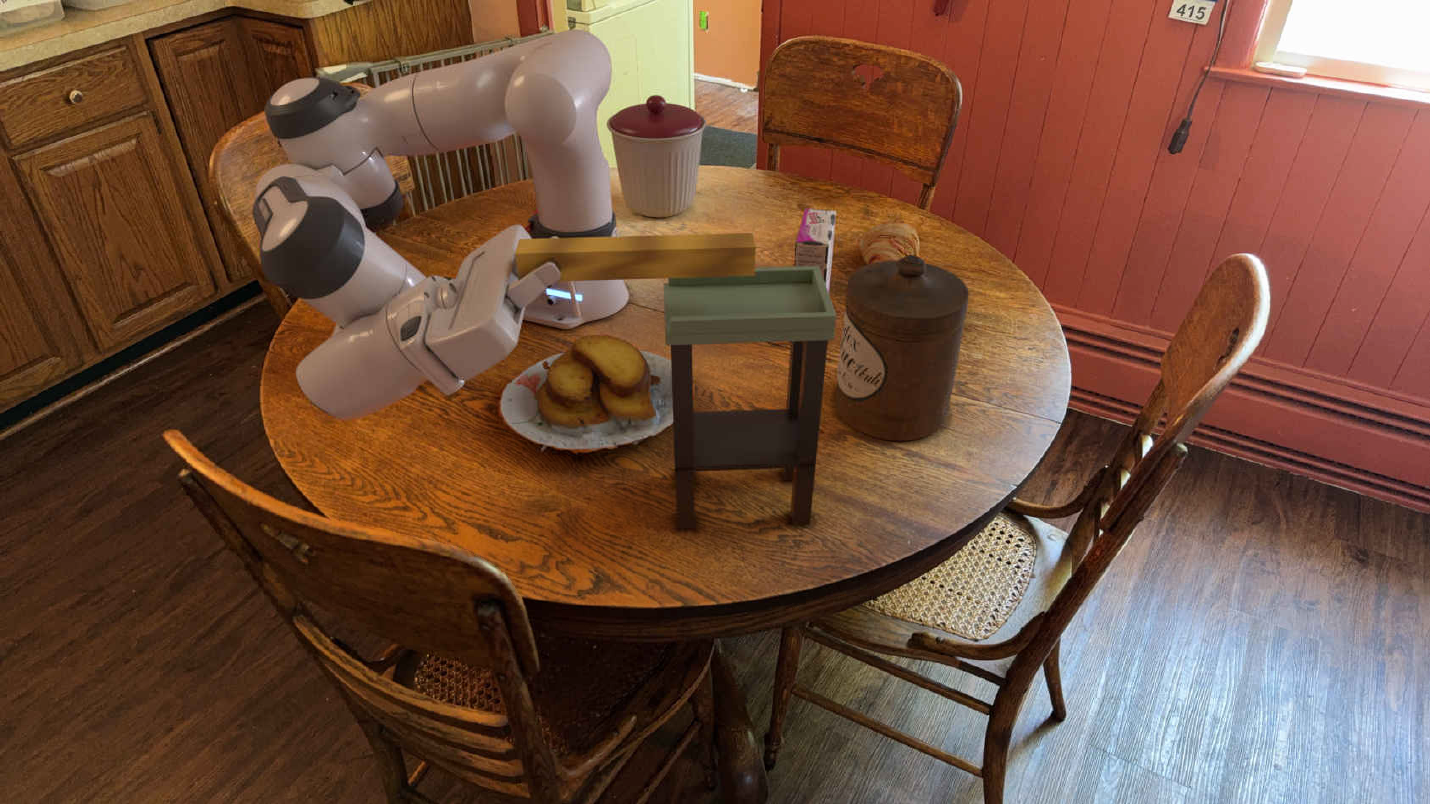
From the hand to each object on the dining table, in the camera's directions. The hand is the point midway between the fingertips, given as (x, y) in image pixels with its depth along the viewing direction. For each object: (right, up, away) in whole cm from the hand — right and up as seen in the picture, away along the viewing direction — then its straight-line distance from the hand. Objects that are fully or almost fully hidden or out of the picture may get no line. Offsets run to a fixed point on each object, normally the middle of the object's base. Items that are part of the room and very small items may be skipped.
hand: (559, 255), depth 80 cm
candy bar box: (+29, -2, +51) cm, 59 cm away
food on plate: (-1, -15, +34) cm, 37 cm away
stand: (+17, -25, +20) cm, 36 cm away
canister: (+4, +24, +86) cm, 89 cm away
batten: (+7, -1, +2) cm, 7 cm away
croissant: (+44, +10, +68) cm, 82 cm away
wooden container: (+38, -14, +34) cm, 53 cm away
